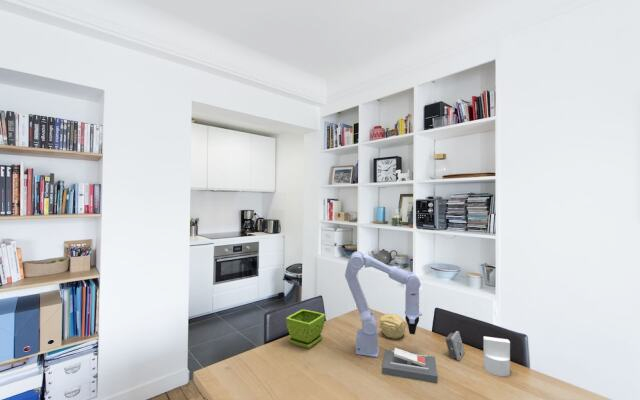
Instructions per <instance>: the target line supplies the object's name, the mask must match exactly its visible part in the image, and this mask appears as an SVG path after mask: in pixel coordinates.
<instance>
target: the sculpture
mask: <svg viewBox="0 0 640 400" xmlns="http://www.w3.org/2000/svg"><path fill="white" fill-rule="evenodd" d="M379 327H380V328H381V331H382V333H383V334H384V335H385V336H386V338H390V339H394V340H395V339H396V340H397V339H400V338H402V337H403V335H404V334H405V332H406V324H405V319H403V317H401V316H400V315H398V314H396V313H386V314H383V315H381V316H380V320H379Z"/></svg>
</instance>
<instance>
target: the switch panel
mask: <svg viewBox="0 0 640 400" xmlns="http://www.w3.org/2000/svg"><path fill="white" fill-rule="evenodd" d="M409 352H410V351H409ZM410 353H412V351H411V352H410ZM414 354H415V355H418V356H421V357H423V358H425V367H423V366H420V365H418V364H415V363H412V362H411V360H404V359H401V358H398V357H396V356H394V350H391V349H385V350H384V355H383V360H382V367H381V368H382V370H381V371H382V372H381V374H382V375H387V376H388V375H389V376H394V377H398V378H399V377H400V378H406V379H411V380H419V381H422V382H423V381H424V382H428V383H429V382H430V383H436V384H438V381H439V380H438V371H437V370H438V369H437V365H436V363H437V361H436V357H435V356H432V355H424V354H417V353H414Z"/></svg>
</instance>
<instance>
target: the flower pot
mask: <svg viewBox="0 0 640 400" xmlns="http://www.w3.org/2000/svg"><path fill="white" fill-rule="evenodd" d="M325 319H326V314H325V313H321V312H318V311H313V310H308V309H304V308H303V309H300V310H298V311H296V312H294V313H293V314H290V315H289V316H287V317H286V318H285V322H286V328H287V331H288V332H287V333H289V336H290V337H289V338H288V341H289V342H290V343H291V344H293V345H296V346H299V347H303V348H305V349H311V347H312V346H314V345H315V344H317V343H318V342H319V341H321V340H322V339H323V337H324V336H323V335H322V332H323V329H324V325H325Z"/></svg>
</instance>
